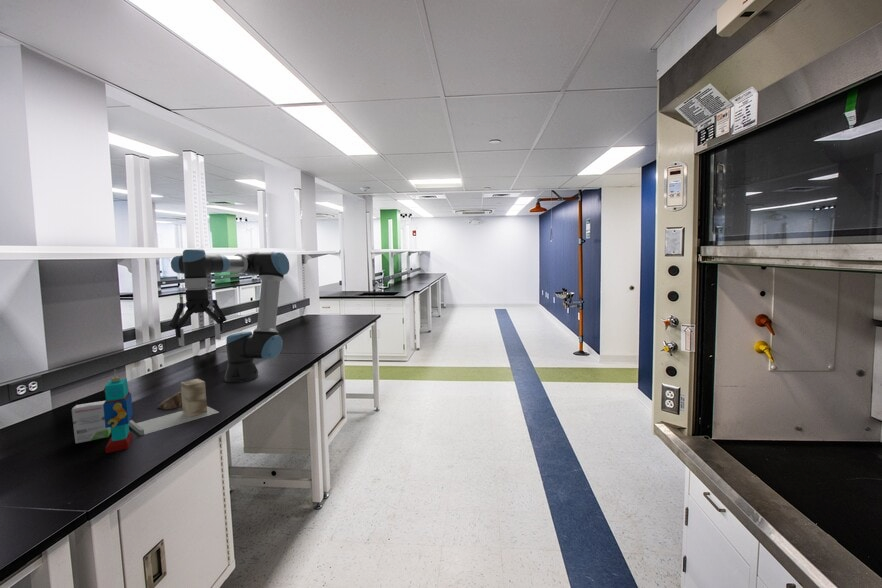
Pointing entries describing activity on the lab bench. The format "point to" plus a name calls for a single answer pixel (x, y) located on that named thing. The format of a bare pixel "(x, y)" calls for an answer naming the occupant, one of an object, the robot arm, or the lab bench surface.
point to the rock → (172, 402)
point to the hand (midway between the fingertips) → (200, 342)
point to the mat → (165, 421)
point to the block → (193, 397)
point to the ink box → (89, 422)
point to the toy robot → (118, 413)
